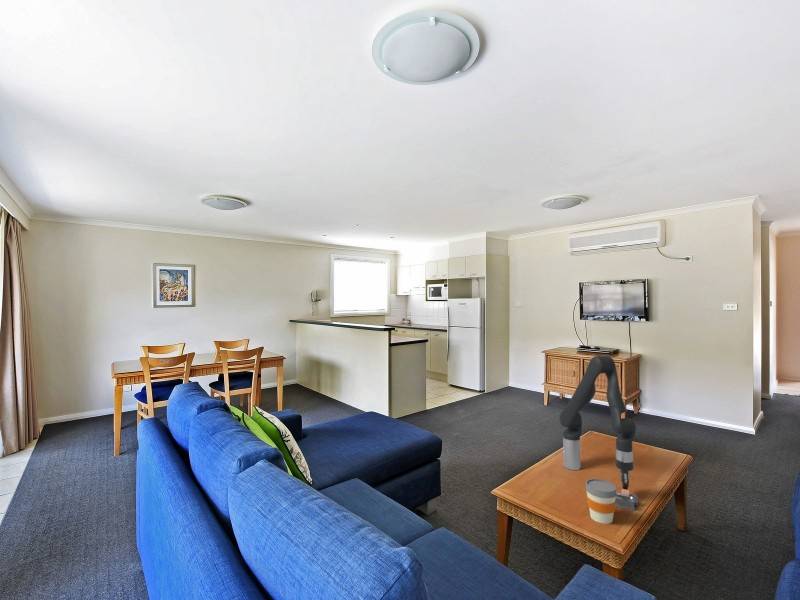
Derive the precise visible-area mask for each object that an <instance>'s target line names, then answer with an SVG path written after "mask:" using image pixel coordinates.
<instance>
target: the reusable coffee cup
mask: <svg viewBox="0 0 800 600" xmlns="http://www.w3.org/2000/svg"><path fill="white" fill-rule="evenodd" d="M585 491H586V494H585V495H586V501H587V507H588V508H589V509H588V510H589V514H590V518H591V519H592V520H593V521H595V522H597V523H600V524H604V525H605V524H606V525H608V524H612V523H613V519H614V514H615V512H616V508H617V507H616V495H617V493H618V492H617V487H616V485H615V484H614V483H612V482H610V481H608V480H605V479H600V478H589V479H587V480H586V481H585Z"/></svg>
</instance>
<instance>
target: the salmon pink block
mask: <svg viewBox="0 0 800 600" xmlns="http://www.w3.org/2000/svg"><path fill="white" fill-rule="evenodd" d="M621 493H622V494H626V495H629V494H630V490H629V489H628V490H626V489H622V488H621Z"/></svg>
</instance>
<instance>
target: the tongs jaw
mask: <svg viewBox="0 0 800 600" xmlns="http://www.w3.org/2000/svg"><path fill="white" fill-rule="evenodd" d="M615 508H621V509H625V510H629V511H630V510H631V511H635V507H634V500H632V499H627V498H621V497H616V507H615Z"/></svg>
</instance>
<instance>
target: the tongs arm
mask: <svg viewBox="0 0 800 600" xmlns="http://www.w3.org/2000/svg"><path fill="white" fill-rule="evenodd" d="M616 497H621V498H627V499H632V500H634V508H638V505H639V503H638V501H639V500H638V499H639V498H638V497H639V496H638V495H637V494H634V493H629V495H626V494H622V492H617V495H616Z"/></svg>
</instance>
